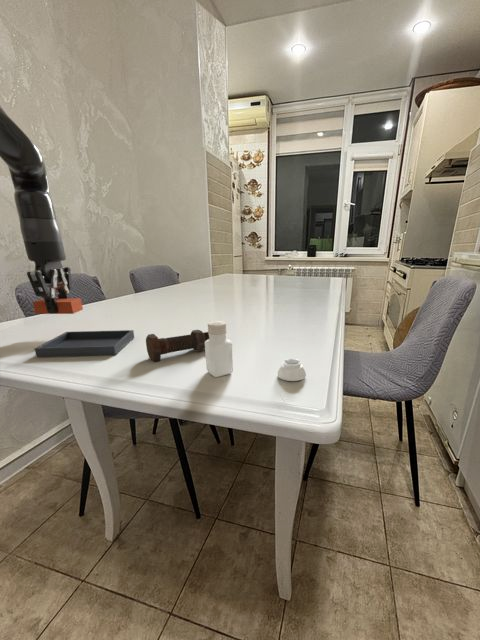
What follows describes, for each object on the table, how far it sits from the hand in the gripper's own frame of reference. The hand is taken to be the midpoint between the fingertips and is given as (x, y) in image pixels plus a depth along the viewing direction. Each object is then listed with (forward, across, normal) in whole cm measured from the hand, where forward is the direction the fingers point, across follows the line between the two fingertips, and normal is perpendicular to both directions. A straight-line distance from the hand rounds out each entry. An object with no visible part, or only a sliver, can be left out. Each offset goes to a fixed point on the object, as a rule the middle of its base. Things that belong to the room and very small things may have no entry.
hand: (59, 310), depth 75 cm
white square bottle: (+6, +28, +42) cm, 51 cm away
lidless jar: (+6, +31, +55) cm, 64 cm away
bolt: (+6, +17, +34) cm, 39 cm away
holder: (+6, +11, +11) cm, 17 cm away
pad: (0, 0, 0) cm, 0 cm away
